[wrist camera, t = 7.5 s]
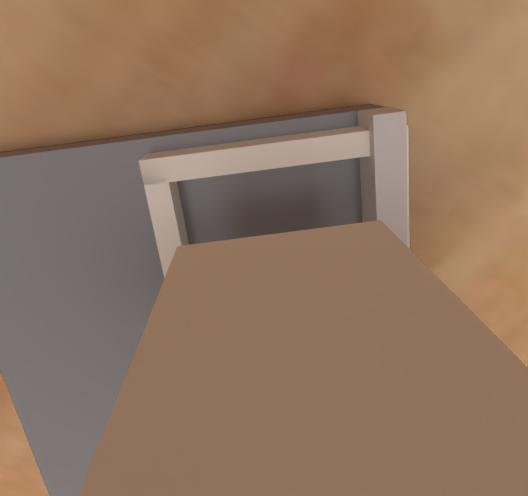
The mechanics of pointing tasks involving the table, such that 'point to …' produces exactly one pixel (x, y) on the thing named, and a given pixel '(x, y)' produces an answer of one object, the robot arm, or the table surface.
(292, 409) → the cream box
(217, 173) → the shelf deck
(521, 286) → the table surface
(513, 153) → the table surface
